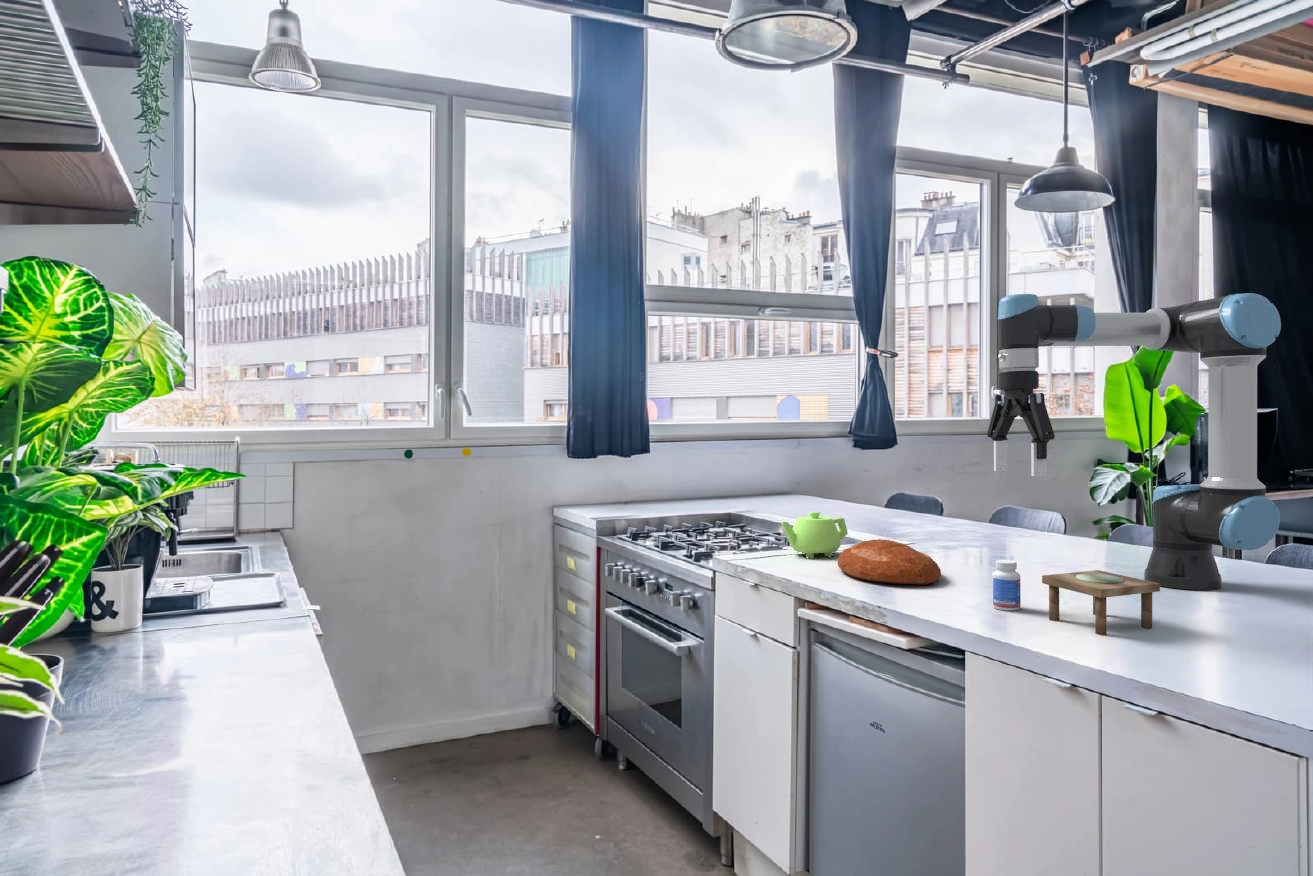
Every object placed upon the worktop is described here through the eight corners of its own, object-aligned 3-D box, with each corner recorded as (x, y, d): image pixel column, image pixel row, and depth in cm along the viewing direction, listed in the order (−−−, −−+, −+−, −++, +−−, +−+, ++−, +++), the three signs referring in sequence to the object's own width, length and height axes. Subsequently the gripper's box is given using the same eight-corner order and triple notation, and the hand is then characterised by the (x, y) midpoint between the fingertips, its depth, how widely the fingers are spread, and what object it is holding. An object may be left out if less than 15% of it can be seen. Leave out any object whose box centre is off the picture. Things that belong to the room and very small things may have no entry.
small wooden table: (1097, 612, 165) (1097, 568, 165) (1160, 628, 152) (1159, 581, 152) (1042, 618, 161) (1042, 574, 161) (1101, 636, 148) (1101, 588, 147)
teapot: (790, 561, 228) (790, 516, 228) (773, 553, 241) (773, 510, 241) (857, 557, 232) (856, 513, 232) (836, 549, 245) (836, 508, 245)
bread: (889, 562, 225) (889, 530, 225) (967, 584, 195) (967, 547, 194) (816, 568, 218) (816, 535, 218) (885, 592, 188) (885, 554, 187)
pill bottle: (1023, 611, 167) (1023, 564, 166) (995, 611, 168) (995, 563, 167) (1017, 605, 172) (1017, 559, 172) (990, 604, 173) (989, 558, 173)
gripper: (970, 373, 180) (970, 469, 181) (1038, 367, 156) (1038, 478, 156) (1001, 373, 181) (1002, 469, 182) (1074, 366, 157) (1074, 477, 157)
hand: (1019, 473), depth 169 cm, fingers open, 13 cm apart
